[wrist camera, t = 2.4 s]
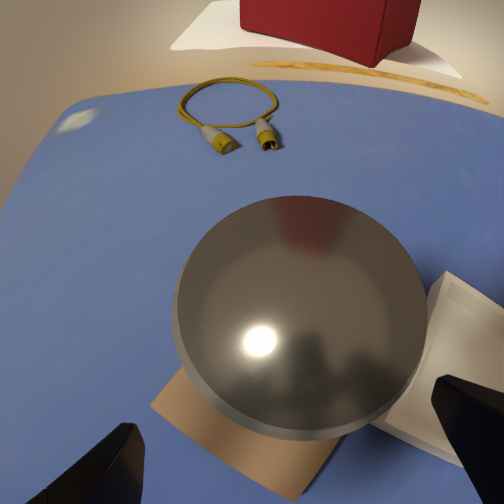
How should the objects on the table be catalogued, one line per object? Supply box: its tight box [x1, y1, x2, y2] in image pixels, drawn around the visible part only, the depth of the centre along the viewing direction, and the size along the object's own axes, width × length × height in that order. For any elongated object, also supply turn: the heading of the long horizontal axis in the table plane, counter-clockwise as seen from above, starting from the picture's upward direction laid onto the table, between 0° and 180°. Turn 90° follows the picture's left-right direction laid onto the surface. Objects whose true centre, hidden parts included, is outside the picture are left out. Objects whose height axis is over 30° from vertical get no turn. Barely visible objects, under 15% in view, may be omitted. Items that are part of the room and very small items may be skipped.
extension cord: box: [178, 77, 278, 155], centre depth 32 cm, size 12×16×2 cm
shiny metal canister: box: [172, 196, 428, 441], centre depth 11 cm, size 5×5×13 cm
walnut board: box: [150, 365, 341, 503], centre depth 17 cm, size 10×10×1 cm
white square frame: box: [369, 271, 504, 468], centre depth 16 cm, size 11×11×2 cm
